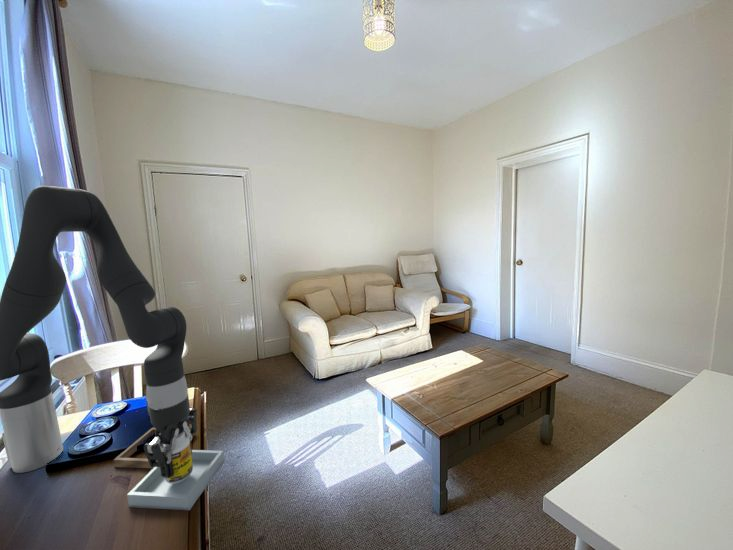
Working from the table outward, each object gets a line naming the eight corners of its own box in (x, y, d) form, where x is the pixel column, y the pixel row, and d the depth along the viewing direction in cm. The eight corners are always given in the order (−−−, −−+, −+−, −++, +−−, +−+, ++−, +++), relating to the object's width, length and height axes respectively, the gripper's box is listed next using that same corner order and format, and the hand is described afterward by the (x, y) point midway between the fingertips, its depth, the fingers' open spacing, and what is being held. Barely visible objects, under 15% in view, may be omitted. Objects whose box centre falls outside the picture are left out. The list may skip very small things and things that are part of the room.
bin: (129, 507, 66) (126, 494, 65) (174, 459, 79) (172, 449, 79) (189, 510, 65) (187, 497, 64) (224, 461, 78) (223, 450, 77)
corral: (114, 466, 77) (113, 459, 77) (153, 433, 90) (152, 427, 89) (161, 468, 76) (160, 461, 76) (194, 434, 89) (193, 428, 88)
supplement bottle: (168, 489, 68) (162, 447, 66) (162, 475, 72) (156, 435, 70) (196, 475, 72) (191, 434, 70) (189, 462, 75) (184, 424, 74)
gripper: (175, 381, 76) (183, 443, 79) (125, 417, 62) (137, 491, 64) (204, 382, 75) (211, 444, 78) (160, 418, 61) (171, 493, 64)
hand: (178, 465), depth 71 cm, fingers closed on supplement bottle, 5 cm apart
